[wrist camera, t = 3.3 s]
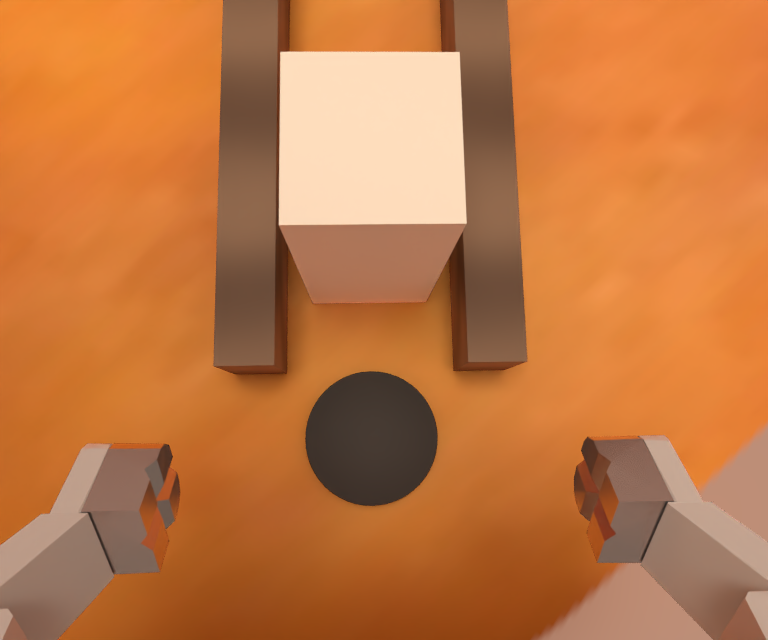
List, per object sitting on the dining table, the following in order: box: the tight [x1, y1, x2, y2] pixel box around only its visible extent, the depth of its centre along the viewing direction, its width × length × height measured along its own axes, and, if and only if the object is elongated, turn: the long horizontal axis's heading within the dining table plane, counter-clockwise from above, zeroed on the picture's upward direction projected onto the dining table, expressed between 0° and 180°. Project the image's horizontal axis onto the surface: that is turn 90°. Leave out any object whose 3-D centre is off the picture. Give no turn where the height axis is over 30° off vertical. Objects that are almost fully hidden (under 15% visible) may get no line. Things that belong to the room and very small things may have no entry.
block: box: [279, 52, 467, 304], centre depth 20 cm, size 4×4×10 cm
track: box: [214, 0, 527, 374], centre depth 24 cm, size 18×10×4 cm, turn 1°
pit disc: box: [305, 371, 437, 506], centre depth 24 cm, size 5×5×1 cm
